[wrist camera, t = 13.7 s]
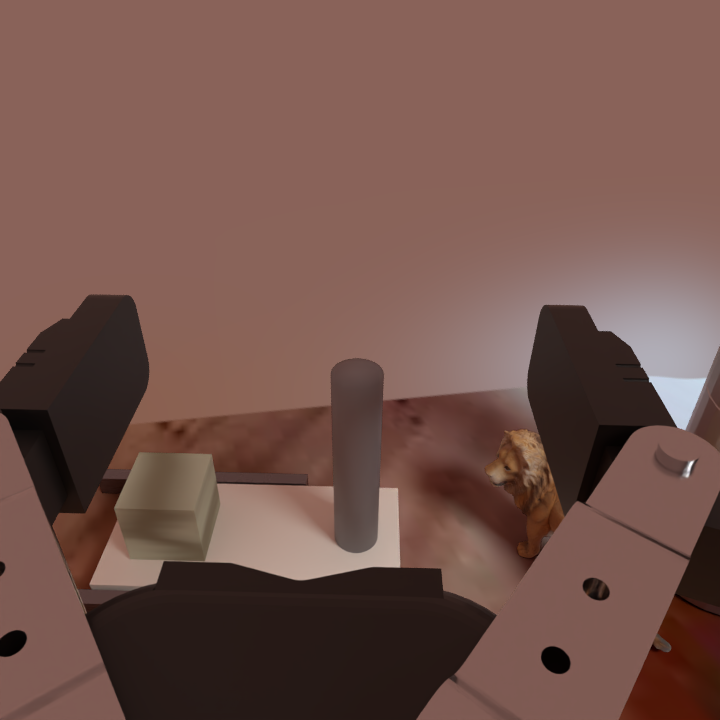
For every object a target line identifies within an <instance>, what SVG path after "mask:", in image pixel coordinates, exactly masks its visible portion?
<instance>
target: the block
mask: <svg viewBox="0 0 720 720" xmlns="http://www.w3.org/2000/svg"><path fill="white" fill-rule="evenodd" d="M219 508H220V498H219V492H218V487H217V481H216V475H215V470H214V464H213V458H212V454H187V453H147V452H139V454H138V456H137V459H136V461H135V463H134V465H133V467H132V470H131V472H130V474H129V476H128V479H127V481H126V483H125V485H124V487H123V490H122V492H121V494H120V496H119V499H118V501H117V503H116V505H115V507H114V510H115V513H116V516H117V519H118V522H119V525H120V529H121V532H122V535H123V538H124V541H125V544H126V547H127V550H128V553H129V557H130V559H139V560H174V561H205V559H206V556H207V552H208V548H209V545H210V541H211V537H212V534H213V530H214V526H215V523H216V519H217V515H218V512H219Z"/></svg>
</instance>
